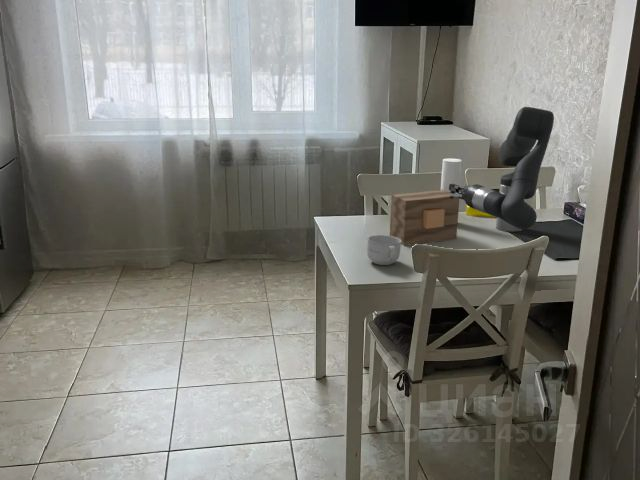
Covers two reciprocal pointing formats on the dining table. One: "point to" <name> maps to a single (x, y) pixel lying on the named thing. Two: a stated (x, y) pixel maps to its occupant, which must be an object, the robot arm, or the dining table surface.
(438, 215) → the light brown block
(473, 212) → the element tile
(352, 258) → the dining table surface
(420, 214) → the wooden box
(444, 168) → the cylindrical container
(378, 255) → the teacup
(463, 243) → the dining table surface
